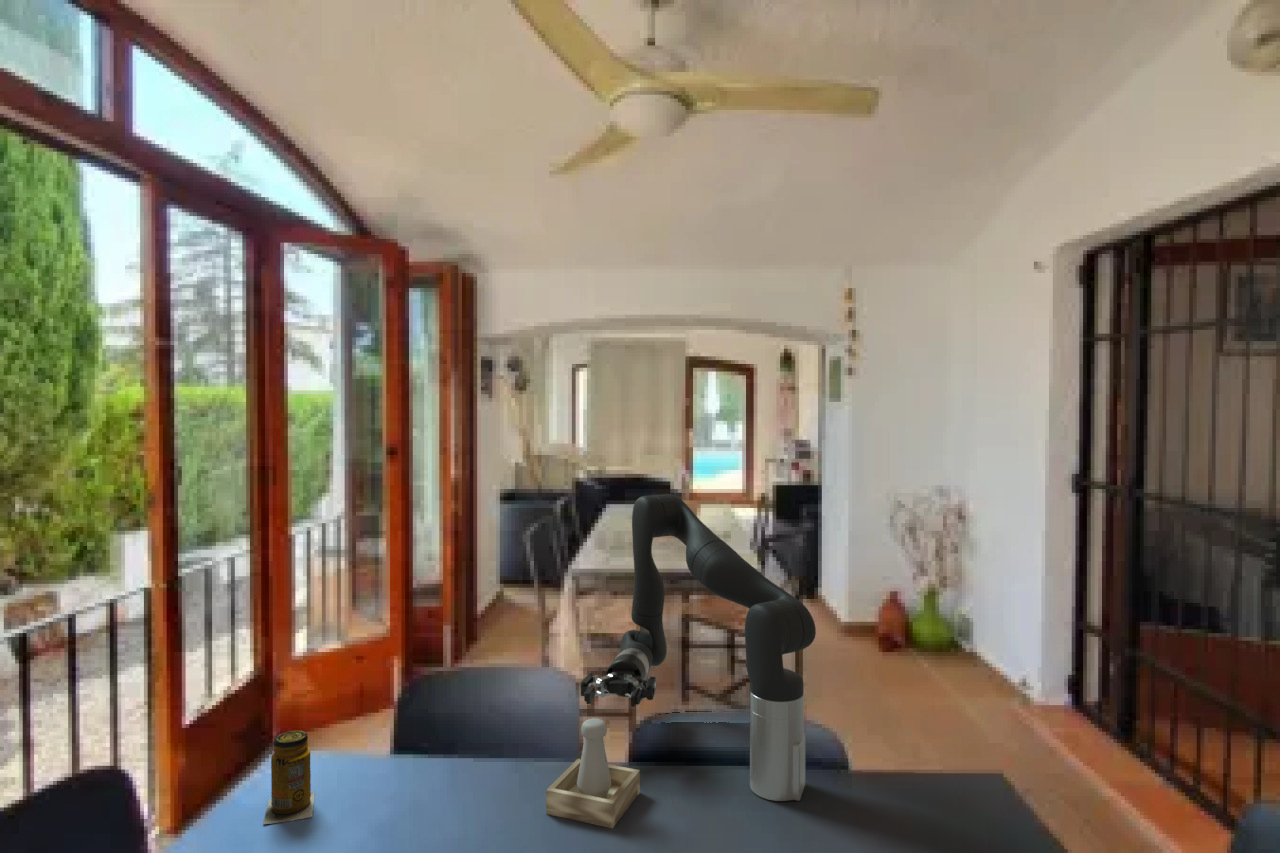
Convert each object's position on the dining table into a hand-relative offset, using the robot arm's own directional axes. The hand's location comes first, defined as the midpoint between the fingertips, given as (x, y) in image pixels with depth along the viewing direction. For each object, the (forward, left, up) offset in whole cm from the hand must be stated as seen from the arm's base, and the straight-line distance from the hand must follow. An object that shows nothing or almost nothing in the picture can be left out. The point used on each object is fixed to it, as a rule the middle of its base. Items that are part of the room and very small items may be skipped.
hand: (610, 700), depth 141 cm
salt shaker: (-2, +12, -12) cm, 17 cm away
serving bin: (-2, +12, -13) cm, 18 cm away
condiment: (+45, +32, -13) cm, 57 cm away
